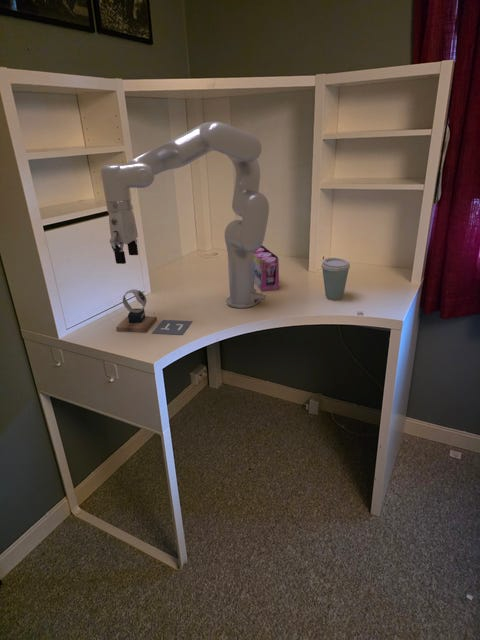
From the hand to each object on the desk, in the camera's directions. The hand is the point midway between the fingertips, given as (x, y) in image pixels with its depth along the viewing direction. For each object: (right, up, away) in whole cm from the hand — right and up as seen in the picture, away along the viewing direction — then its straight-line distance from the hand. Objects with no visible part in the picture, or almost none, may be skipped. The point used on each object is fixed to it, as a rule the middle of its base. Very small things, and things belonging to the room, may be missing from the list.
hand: (127, 259), depth 140 cm
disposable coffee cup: (+74, -12, +26) cm, 79 cm away
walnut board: (+1, -22, +10) cm, 24 cm away
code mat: (+14, -23, +7) cm, 27 cm away
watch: (+1, -20, +11) cm, 23 cm away
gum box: (+47, -4, +47) cm, 66 cm away
